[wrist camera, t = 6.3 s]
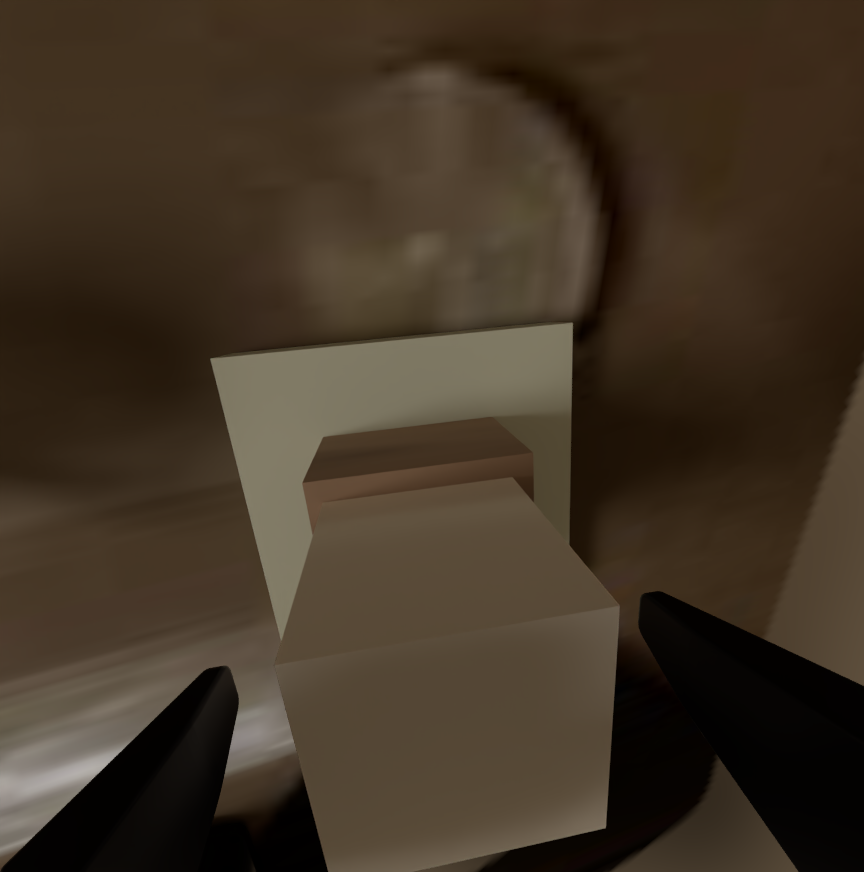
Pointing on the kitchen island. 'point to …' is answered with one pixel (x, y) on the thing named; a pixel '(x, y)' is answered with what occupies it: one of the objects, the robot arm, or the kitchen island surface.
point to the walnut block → (414, 461)
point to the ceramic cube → (447, 678)
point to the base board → (388, 417)
